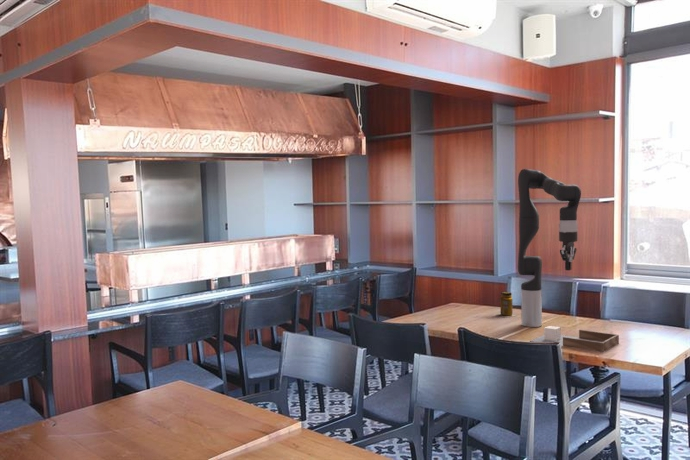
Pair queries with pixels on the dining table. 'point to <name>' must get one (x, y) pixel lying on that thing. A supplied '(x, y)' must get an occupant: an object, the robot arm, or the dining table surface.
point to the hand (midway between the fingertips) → (568, 270)
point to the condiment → (506, 304)
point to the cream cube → (552, 333)
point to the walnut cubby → (607, 339)
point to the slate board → (541, 339)
